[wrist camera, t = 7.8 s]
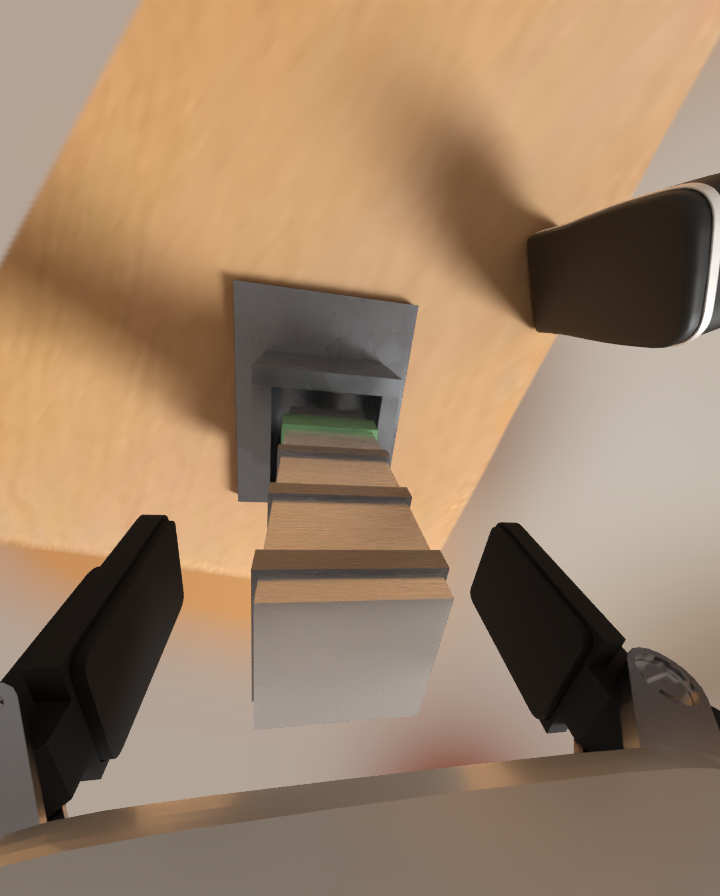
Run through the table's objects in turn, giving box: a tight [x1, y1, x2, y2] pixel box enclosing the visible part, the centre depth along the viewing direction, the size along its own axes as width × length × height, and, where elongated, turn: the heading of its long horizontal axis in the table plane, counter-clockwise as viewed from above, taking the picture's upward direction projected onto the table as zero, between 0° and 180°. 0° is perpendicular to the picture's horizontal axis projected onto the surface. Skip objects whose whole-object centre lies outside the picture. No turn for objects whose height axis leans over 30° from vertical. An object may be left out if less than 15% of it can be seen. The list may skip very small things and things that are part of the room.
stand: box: [233, 280, 418, 502], centre depth 21 cm, size 16×12×9 cm
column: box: [251, 406, 454, 730], centre depth 13 cm, size 4×4×13 cm
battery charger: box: [527, 173, 720, 348], centre depth 19 cm, size 7×4×11 cm, turn 19°
